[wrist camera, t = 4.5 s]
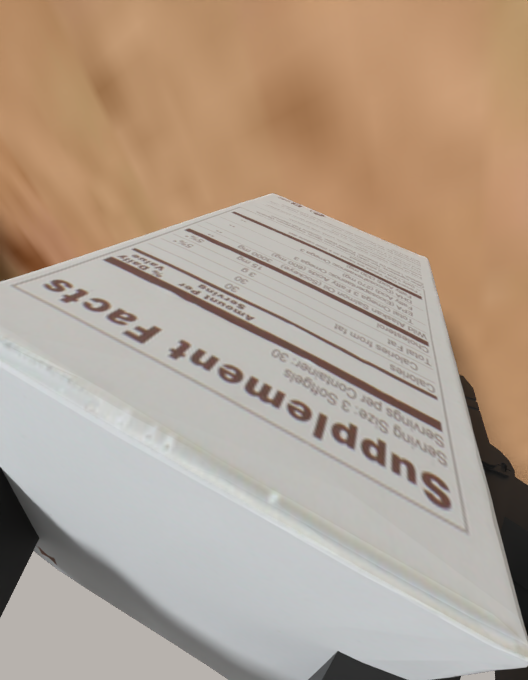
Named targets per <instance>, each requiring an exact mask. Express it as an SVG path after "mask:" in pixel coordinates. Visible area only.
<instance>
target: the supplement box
mask: <svg viewBox="0 0 528 680" xmlns="http://www.w3.org/2000/svg"><path fill="white" fill-rule="evenodd" d="M0 467H1V468H2V471H3V472H4V474H5V476H6V478H7V480H8V482H9V483H10V485H11V487H12V489H13V491H14V493H15V495H16V496H17V498H18V500H19V502H20V504H21V506H22V508H23V509H24V511H25V513H26V515H27V517H28V519H29V520H30V522H31V524H32V526H33V528H34V529H35V531H36V533H37V535H38V536H39V540H38V542H37V544H36V546H35V548H34V550H33V551H35V552H36V553H37V554H38V555H39V556H41V557H42V558H43V559H44V560H46V561H47V562H48V563H50V564H51V565H52V566H54V567H55V568H56V569H58V570H59V571H61V572H62V573H64V574H65V575H67V576H68V577H70V578H71V579H73V580H74V581H76V582H77V583H79V584H81V585H82V586H84V587H85V588H87V589H88V590H90V591H91V592H93V593H94V594H96V595H98V596H99V597H101V598H102V599H104V600H106V601H107V602H109V603H110V604H112V605H113V606H115V607H116V608H118V609H120V610H121V611H123V612H124V613H126V614H127V615H129V616H131V617H132V618H134V619H136V620H137V621H139V622H140V623H142V624H143V625H145V626H147V627H148V628H150V629H151V630H153V631H154V632H156V633H158V634H159V635H161V636H162V637H164V638H166V639H167V640H168V641H170V642H172V643H174V644H175V645H177V646H178V647H179V648H181V649H183V650H184V651H186V652H187V653H189V654H190V655H192V656H193V657H195V658H197V659H198V660H200V661H201V662H203V663H204V664H206V665H207V666H209V667H210V668H212V669H213V670H215V671H216V672H218V673H219V674H221V675H222V676H224V677H225V678H227V679H228V680H308V679H309V678H310V677H311V676H312V675H313V674H314V673H316V672H317V671H318V670H319V669H320V668H321V667H322V666H323V665H324V664H325V663H326V662H327V661H328V660H329V659H330V658H331V657H332V656H333V655H334V654H335V653H336V652H337V651H339V652H341V653H343V654H345V655H348V656H350V657H352V658H354V659H356V660H358V661H360V662H363V663H365V664H368V665H370V666H373V667H376V668H378V669H381V670H383V671H386V672H389V673H391V674H394V675H396V676H399V677H402V678H404V679H407V680H433V679H441V678H450V677H455V676H463V675H470V674H476V673H482V672H488V671H495V670H504V669H515V668H524V667H527V666H528V636H527V633H526V630H525V626H524V623H523V619H522V615H521V611H520V608H519V604H518V600H517V596H516V592H515V589H514V585H513V581H512V577H511V573H510V570H509V566H508V562H507V558H506V554H505V550H504V546H503V543H502V539H501V535H500V531H499V527H498V523H497V520H496V515H495V511H494V507H493V502H492V498H491V495H490V491H489V487H488V484H487V480H486V476H485V473H484V469H483V465H482V462H481V458H480V454H479V451H478V447H477V443H476V439H475V436H474V432H473V428H472V424H471V420H470V415H469V411H468V407H467V403H466V399H465V396H464V392H463V388H462V384H461V381H460V377H459V373H458V369H457V365H456V361H455V358H454V354H453V351H452V347H451V343H450V339H449V335H448V331H447V327H446V324H445V320H444V316H443V313H442V310H441V305H440V300H439V296H438V293H437V290H436V286H435V282H434V278H433V274H432V271H431V267H430V263H429V260H428V259H427V258H426V257H424V256H421V255H418V254H416V253H413V252H411V251H409V250H406V249H404V248H401V247H399V246H397V245H394V244H392V243H389V242H387V241H385V240H382V239H380V238H378V237H375V236H373V235H371V234H368V233H366V232H363V231H361V230H359V229H357V228H354V227H352V226H349V225H347V224H345V223H342V222H340V221H338V220H335V219H333V218H331V217H328V216H326V215H324V214H322V213H319V212H317V211H315V210H312V209H310V208H307V207H305V206H303V205H300V204H298V203H295V202H293V201H291V200H289V199H286V198H284V197H282V196H279V195H277V194H274V193H271V194H268V195H265V196H262V197H259V198H256V199H253V200H249V201H245V202H243V203H239V204H237V205H234V206H231V207H228V208H225V209H221V210H218V211H215V212H212V213H209V214H206V215H203V216H200V217H197V218H194V219H191V220H188V221H185V222H182V223H179V224H176V225H173V226H170V227H168V228H165V229H161V230H158V231H156V232H153V233H150V234H147V235H144V236H141V237H138V238H135V239H132V240H128V241H125V242H122V243H119V244H116V245H113V246H110V247H107V248H104V249H101V250H98V251H95V252H92V253H89V254H86V255H83V256H80V257H77V258H74V259H71V260H68V261H65V262H62V263H59V264H56V265H52V266H49V267H46V268H43V269H40V270H37V271H34V272H31V273H28V274H25V275H21V276H18V277H14V278H11V279H8V280H4V281H1V282H0Z"/></svg>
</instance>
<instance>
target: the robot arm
mask: <svg viewBox="0 0 528 680" xmlns="http://www.w3.org/2000/svg"><path fill="white" fill-rule="evenodd" d="M459 377H460V381H461V384H462V388H463V392H464V396H465V399H466V403H467V407H468V411H469V415H470V420H471V424H472V428H473V432H474V436H475V439H476V443H477V447H478V451H479V454H480V458H481V462H482V465H483V469H484V473H485V476H486V480H487V484H488V487H489V491H490V495H491V498H492V502H493V507H494V511H495V515H496V520H497V523H498V527H499V531H500V535H501V539H502V543H503V546H504V550H505V554H506V558H507V562H508V566H509V570H510V573H511V577H512V581H513V585H514V589H515V592H516V596H517V600H518V604H519V608H520V611H521V615H522V619H523V623H524V626H525V630H526V633H527V636H528V485H526V484H525V483H523V482H522V481H520V480H519V479H517V478H516V477H515V472H514V469H513V467H512V465H511V463H510V462H509V460H508V459H507V458H506V457H505V456H504V455H503V454H502V453H501V452H500V451H499V450H498V449H496V448H495V447H494V446H492V445H491V444H490V443H489V440H488V437H487V434H486V430H485V427H484V424H483V420H482V417H481V414H480V411H479V407H478V404H477V402H476V397H475V393H474V390H473V388H472V386H471V385H470V384H469V383H468V381H467V380H466V379H465V378H464V377H463V376H461V375H459ZM38 540H39V536H38V535H37V533H36V531H35V529H34V528H33V526H32V524H31V522H30V520H29V519H28V517H27V515H26V513H25V511H24V509H23V508H22V506H21V504H20V502H19V500H18V498H17V496H16V495H15V493H14V491H13V489H12V487H11V485H10V483H9V482H8V480H7V478H6V476H5V474H4V472H3V471H2V468H1V467H0V617H1V615H2V613H3V611H4V609H5V607H6V605H7V603H8V601H9V599H10V597H11V595H12V593H13V591H14V589H15V587H16V585H17V583H18V581H19V579H20V576H21V575H22V573H23V571H24V568H25V566H26V565H27V562H28V560H29V558H30V556H31V554H32V552H33V550H34V548H35V546H36V544H37V542H38ZM460 677H461V676H455V677H450V678H441V679H433V680H460ZM308 680H407V679H404V678H402V677H399V676H396V675H394V674H391V673H389V672H386V671H383V670H381V669H378V668H376V667H373V666H370V665H368V664H365V663H363V662H360V661H358V660H356V659H354V658H352V657H350V656H348V655H345V654H343V653H341V652H339V651H337V652H336V653H335V654H334V655H333V656H332V657H331V658H330V659H329V660H328V661H327V662H326V663H325V664H324V665H323V666H322V667H321V668H320V669H319V670H318V671H317V672H316V673H314V674H313V675H312V676H311V677H310V678H309V679H308ZM495 680H528V666H527V667H524V668H515V669H504V670H495Z"/></svg>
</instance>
